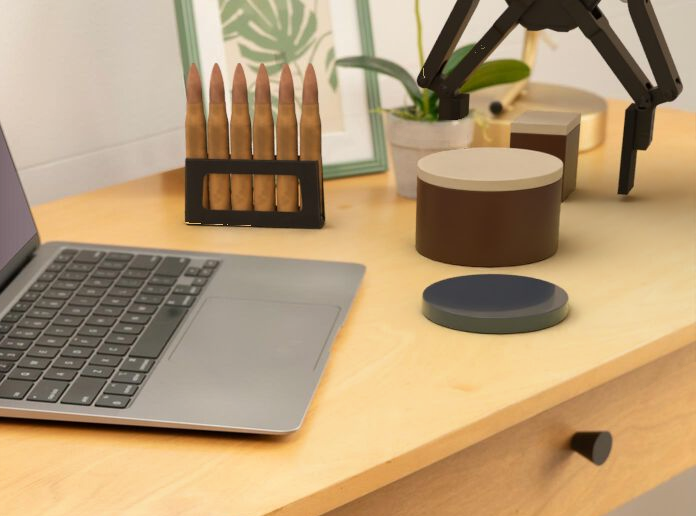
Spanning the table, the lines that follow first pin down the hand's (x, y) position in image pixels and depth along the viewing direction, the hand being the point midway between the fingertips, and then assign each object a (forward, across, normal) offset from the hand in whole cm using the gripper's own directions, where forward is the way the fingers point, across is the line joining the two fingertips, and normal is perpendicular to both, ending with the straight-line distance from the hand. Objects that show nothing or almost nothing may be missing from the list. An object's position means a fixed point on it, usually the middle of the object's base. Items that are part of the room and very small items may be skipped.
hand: (539, 184), depth 120 cm
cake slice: (+1, 0, 0) cm, 1 cm away
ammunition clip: (+1, -18, -16) cm, 24 cm away
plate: (0, +4, -30) cm, 30 cm away
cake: (0, 0, -16) cm, 16 cm away
